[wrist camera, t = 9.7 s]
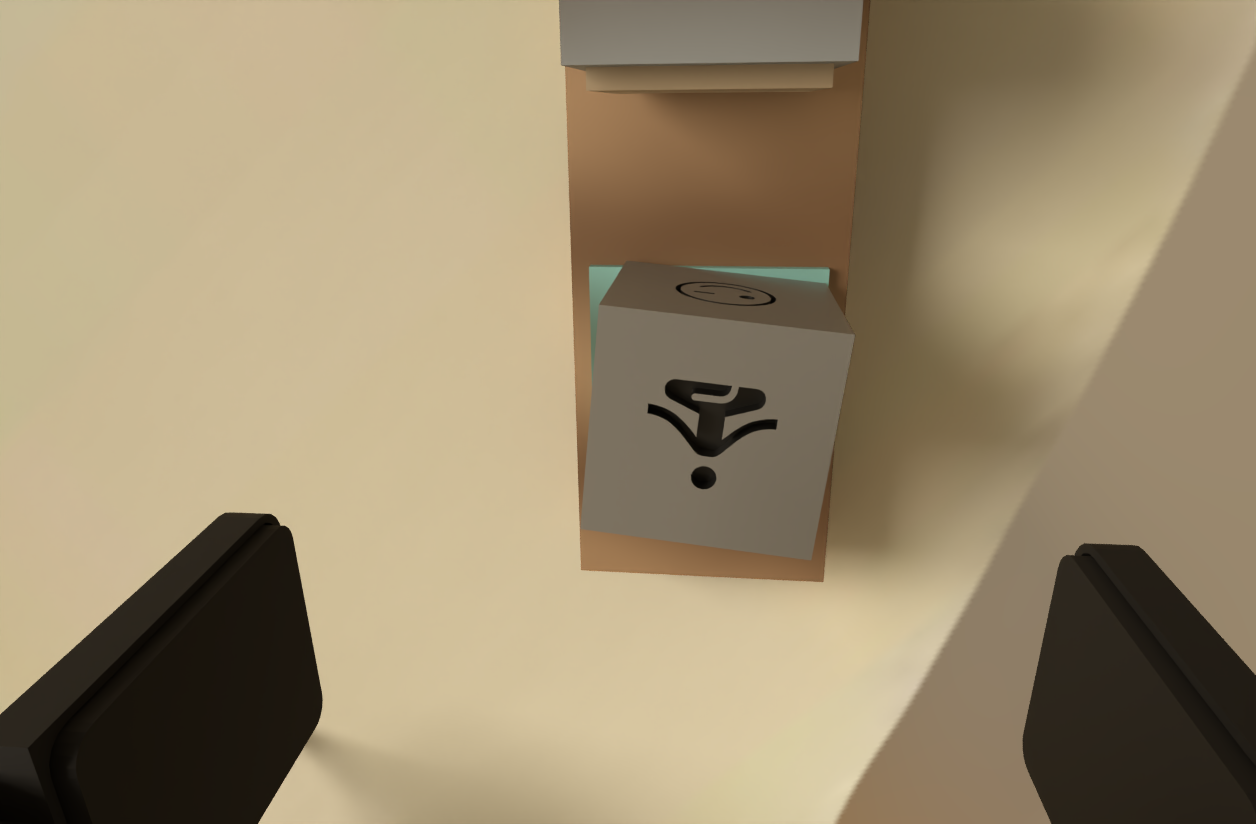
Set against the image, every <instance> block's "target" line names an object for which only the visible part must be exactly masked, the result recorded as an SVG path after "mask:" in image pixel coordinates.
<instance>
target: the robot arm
mask: <svg viewBox="0 0 1256 824" xmlns="http://www.w3.org/2000/svg"><path fill="white" fill-rule="evenodd" d="M322 701H323V700H322V691H321V686H320V680H319V675H318V670H317V664H316V659H315V654H314V648H313V643H312V638H311V632H310V627H309V621H308V616H307V611H306V605H305V600H304V595H303V589H302V584H301V579H300V573H299V568H298V562H297V557H296V552H295V546H294V541H293V537H292V533H291V531H290V530H289V528H288V527H286V526H280V523H279V522H278V520H277V518H276V517H275V516H273V515H271V514H256V513H224V514H222V515H221V516H219V517H218V518H217V519H216V520H215V521H213V522H212V523H211V524H210V525H209V526H208V527H207V528H206V529H205V530H204V531H202V532H201V533H200V534H199V535H198V536H197V537H196V538H195V539H194V540H192V541H191V542H190V543H189V544H188V545H187V546H186V547H185V548H184V549H183V550H181V551H180V552H179V553H178V554H177V555H176V556H175V557H174V558H173V559H171V560H170V561H169V562H168V563H167V564H166V565H165V566H164V567H163V568H162V569H160V570H159V571H158V572H157V573H156V574H155V575H154V576H153V577H152V578H150V579H149V580H148V581H147V582H146V583H145V584H144V585H143V586H142V587H141V588H139V589H138V590H137V591H136V592H135V593H134V594H133V595H132V596H131V597H130V598H128V599H127V600H126V601H125V602H124V603H123V604H122V605H121V606H120V607H118V608H117V609H116V610H115V611H114V612H113V613H112V614H111V615H110V616H109V617H107V618H106V619H105V620H104V621H103V622H102V623H101V624H100V625H99V626H97V627H96V628H95V629H94V630H93V631H92V632H91V633H90V634H89V635H88V636H86V637H85V638H84V639H83V640H82V641H81V642H80V643H79V644H78V645H76V646H75V647H74V648H73V649H72V650H71V651H70V652H69V653H68V654H67V655H65V656H64V657H63V658H62V659H61V660H60V661H59V662H58V663H57V664H56V665H54V666H53V667H52V668H51V669H50V670H49V671H48V672H47V673H46V674H44V675H43V676H42V677H41V678H40V679H39V680H38V681H37V682H36V683H35V684H33V685H32V686H31V687H30V688H29V689H28V690H27V691H26V692H25V693H23V694H22V695H21V696H20V697H19V698H18V699H17V700H16V701H15V702H14V703H12V704H11V705H10V706H9V707H8V708H7V709H6V710H5V711H4V712H2V713H1V714H0V824H258V822H259V821H260V819H261V817H262V816H263V814H264V812H265V811H266V809H267V808H268V806H269V804H270V803H271V801H272V799H273V798H274V796H275V794H276V793H277V791H278V789H279V788H280V786H281V784H282V783H283V781H284V779H285V778H286V776H287V774H288V773H289V771H290V769H291V768H292V766H293V764H294V763H295V761H296V759H297V758H298V756H299V755H300V753H301V751H302V750H303V748H304V746H305V745H306V743H307V741H308V740H309V738H310V736H311V735H312V733H313V731H314V730H315V728H316V726H317V724H318V722H319V719H320V716H321V711H322ZM1023 754H1024V760H1025V764H1026V767H1027V769H1028V772H1029V774H1030V777H1031V779H1032V781H1033V783H1034V785H1035V788H1036V790H1037V792H1038V794H1039V797H1040V799H1041V801H1042V803H1043V806H1044V808H1045V810H1046V812H1047V815H1048V817H1049V819H1050V821H1051V824H1256V675H1255V674H1254V673H1253V672H1252V671H1251V670H1250V669H1249V667H1248V666H1247V665H1246V664H1245V663H1244V662H1243V661H1242V660H1241V659H1240V657H1239V656H1238V655H1237V654H1236V653H1235V652H1234V651H1233V649H1231V647H1230V646H1229V645H1228V644H1227V643H1226V642H1225V641H1224V639H1223V638H1222V637H1221V636H1220V635H1219V634H1218V633H1217V632H1216V630H1215V629H1214V628H1213V627H1212V626H1211V625H1210V624H1209V623H1208V622H1207V620H1206V619H1205V618H1204V617H1203V616H1202V615H1201V614H1200V613H1199V611H1197V609H1196V608H1195V607H1194V606H1193V605H1192V604H1191V603H1190V601H1189V600H1188V599H1187V598H1186V597H1185V596H1184V595H1183V594H1182V592H1181V591H1180V590H1179V589H1178V588H1177V587H1176V586H1175V585H1174V583H1173V582H1172V581H1171V580H1170V579H1169V578H1168V577H1167V576H1166V575H1165V573H1164V572H1163V571H1162V570H1161V569H1160V568H1159V567H1158V566H1157V564H1156V563H1155V562H1154V561H1153V560H1152V559H1151V558H1150V557H1149V555H1148V554H1147V553H1146V552H1145V551H1144V550H1143V549H1141V548H1140V547H1139V546H1133V545H1112V544H1083V545H1081V546H1079V548H1078V550H1077V551H1076V553H1075V556H1074V555H1066V556H1064V557H1063V558H1062V560H1061V561H1060V564H1059V567H1058V571H1057V576H1056V581H1055V585H1054V591H1053V595H1052V600H1051V604H1050V609H1049V614H1048V619H1047V624H1046V628H1045V633H1044V638H1043V643H1042V647H1041V652H1040V658H1039V662H1038V667H1037V672H1036V676H1035V681H1034V686H1033V690H1032V696H1031V700H1030V705H1029V710H1028V714H1027V719H1026V724H1025V729H1024V734H1023Z"/></svg>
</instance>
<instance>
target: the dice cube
mask: <svg viewBox="0 0 1256 824" xmlns="http://www.w3.org/2000/svg"><path fill="white" fill-rule="evenodd" d="M854 338H855V334H854V332H853V330H852V328H851V326H850V325H849V323H848V321H847V319H846V318H845V316H844V314H843V312H842V311H841V309H840V307H839V305H838V304H837V302H836V300H835V298H834V296H833V295H832V293H831V291H830V289H829V288H828V286H827V284H826V283H819V282H810V281H801V280H793V279H784V278H775V277H766V276H757V275H749V274H740V273H731V272H722V271H714V270H705V269H696V268H687V267H679V266H670V265H661V264H652V263H643V262H635V261H626V262H625V264H624V265H623V267H622V269H621V270H620V272H619V273H618V275H617V277H616V278H615V280H614V281H613V283H612V285H611V286H610V288H609V289H608V291H607V293H606V294H605V296H604V297H603V299H602V301H601V302H600V304H599V310H598V322H597V334H596V346H595V358H594V370H593V382H592V394H591V406H590V418H589V430H588V442H587V454H586V466H585V478H584V490H583V502H582V514H581V526H580V529H583V530H591V531H598V532H605V533H613V534H620V535H627V536H635V537H642V538H649V539H657V540H664V541H671V542H679V543H686V544H693V545H701V546H708V547H716V548H723V549H730V550H738V551H745V552H752V553H760V554H767V555H774V556H782V557H789V558H796V559H804V560H811V559H812V554H813V548H814V543H815V538H816V533H817V528H818V523H819V518H820V513H821V508H822V502H823V497H824V492H825V487H826V482H827V477H828V472H829V467H830V461H831V456H832V451H833V446H834V441H835V436H836V431H837V426H838V420H839V415H840V410H841V405H842V400H843V395H844V390H845V385H846V379H847V374H848V369H849V364H850V359H851V354H852V349H853V344H854Z"/></svg>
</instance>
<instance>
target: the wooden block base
mask: <svg viewBox="0 0 1256 824" xmlns="http://www.w3.org/2000/svg"><path fill="white" fill-rule="evenodd" d="M869 10H870V0H559V16H560V46H561V65H562V66H565V74H566V106H567V137H568V169H569V201H570V232H571V264H572V295H573V327H574V358H575V390H576V421H577V453H578V485H579V516H580V526H581V514H582V502H583V490H584V478H585V466H586V454H587V442H588V430H589V418H590V406H591V394H592V382H593V370H594V358H595V346H596V334H597V322H598V310H599V304H600V302H601V301H602V299H603V297H604V296H605V294H606V293H607V291H608V289H609V288H610V286H611V285H612V283H613V281H614V280H615V278H616V277H617V275H618V273H619V272H620V270H621V269H622V267H623V265H624V264H625V262H626V261H635V262H643V263H652V264H661V265H670V266H679V267H687V268H696V269H705V270H714V271H722V272H731V273H740V274H749V275H757V276H766V277H775V278H784V279H793V280H801V281H810V282H819V283H826V284H827V286H828V288H829V289H830V291H831V293H832V295H833V296H834V298H835V300H836V302H837V304H838V305H839V307H840V309H841V311H842V312H843V314H844V316H845V307H846V295H847V282H848V270H849V258H850V245H851V233H852V221H853V208H854V196H855V183H856V171H857V159H858V146H859V134H860V122H861V109H862V97H863V84H864V72H865V60H866V47H867V35H868V23H869ZM834 443H835V441H834ZM833 456H834V446H833V451H832V456H831V461H830V467H829V472H828V477H827V482H826V487H825V492H824V497H823V502H822V508H821V513H820V518H819V523H818V528H817V533H816V538H815V543H814V548H813V554H812V559H811V560H804V559H796V558H789V557H782V556H774V555H767V554H760V553H752V552H745V551H738V550H730V549H723V548H716V547H708V546H701V545H693V544H686V543H679V542H671V541H664V540H657V539H649V538H642V537H635V536H627V535H620V534H613V533H605V532H598V531H591V530H583V529H580V548H581V570H589V571H609V572H629V573H650V574H670V575H691V576H711V577H732V578H752V579H773V580H793V581H814V582H823V579H824V567H825V555H826V542H827V530H828V518H829V505H830V493H831V480H832V468H833Z"/></svg>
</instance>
